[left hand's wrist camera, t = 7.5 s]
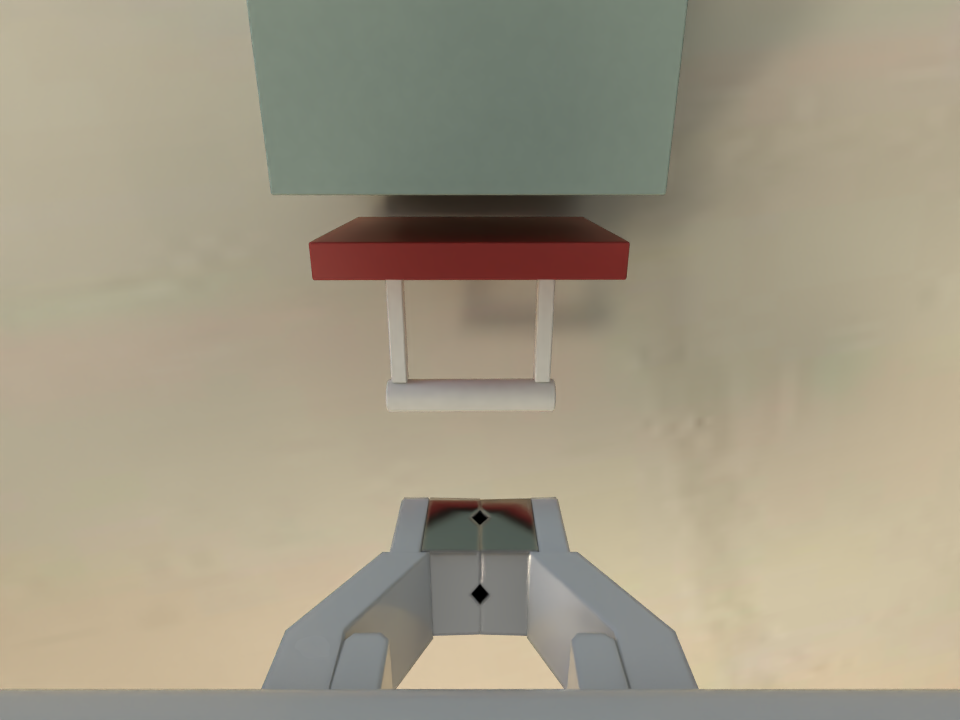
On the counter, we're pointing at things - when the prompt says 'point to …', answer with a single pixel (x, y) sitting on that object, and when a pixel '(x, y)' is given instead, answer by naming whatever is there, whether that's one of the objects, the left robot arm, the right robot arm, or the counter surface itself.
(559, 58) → the cabinet
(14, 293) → the counter surface
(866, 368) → the counter surface
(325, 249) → the drawer
